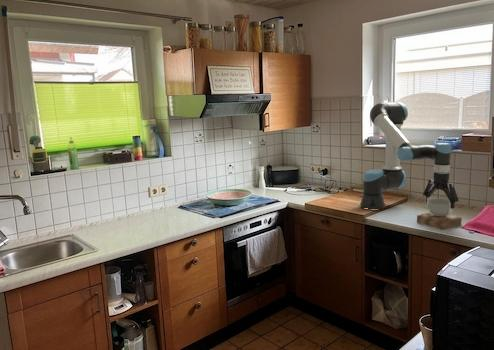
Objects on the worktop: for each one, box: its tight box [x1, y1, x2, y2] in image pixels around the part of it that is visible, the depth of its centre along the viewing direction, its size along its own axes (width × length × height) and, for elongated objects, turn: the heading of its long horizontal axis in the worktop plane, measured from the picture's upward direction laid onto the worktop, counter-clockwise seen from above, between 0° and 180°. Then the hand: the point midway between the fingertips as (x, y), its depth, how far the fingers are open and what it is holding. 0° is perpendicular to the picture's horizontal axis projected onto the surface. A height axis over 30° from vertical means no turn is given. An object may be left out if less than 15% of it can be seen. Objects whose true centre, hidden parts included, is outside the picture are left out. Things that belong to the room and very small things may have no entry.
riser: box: [416, 211, 463, 231], centre depth 224 cm, size 16×15×4 cm
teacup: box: [428, 197, 450, 216], centre depth 223 cm, size 14×11×8 cm
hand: (439, 211), depth 223 cm, fingers closed on teacup, 12 cm apart
